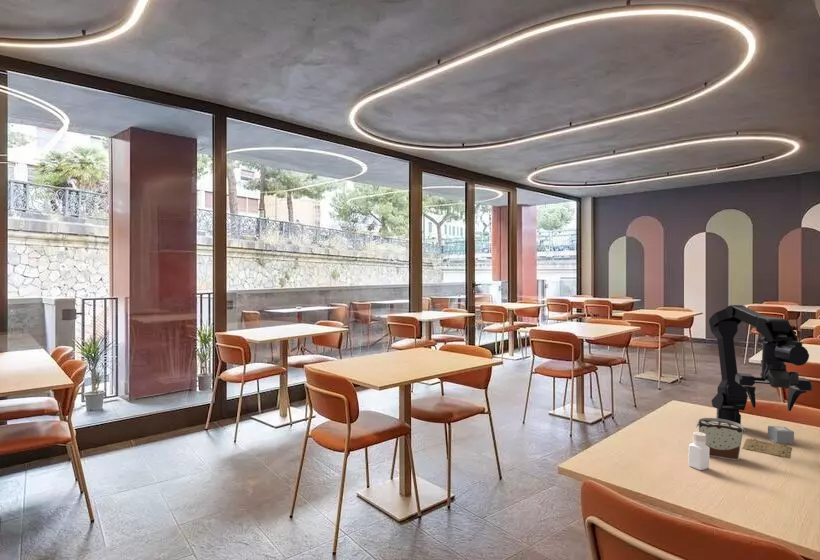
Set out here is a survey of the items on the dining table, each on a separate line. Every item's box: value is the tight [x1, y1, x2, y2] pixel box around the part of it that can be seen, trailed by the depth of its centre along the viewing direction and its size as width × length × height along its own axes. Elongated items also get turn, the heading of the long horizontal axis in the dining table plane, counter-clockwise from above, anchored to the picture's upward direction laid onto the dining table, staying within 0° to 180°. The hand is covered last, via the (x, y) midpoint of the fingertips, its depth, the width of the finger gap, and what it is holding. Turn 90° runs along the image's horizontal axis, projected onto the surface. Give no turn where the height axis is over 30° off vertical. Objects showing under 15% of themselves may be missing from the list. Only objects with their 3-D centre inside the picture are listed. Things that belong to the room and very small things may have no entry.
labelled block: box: [767, 425, 795, 445], centre depth 162 cm, size 5×5×4 cm
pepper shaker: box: [687, 431, 710, 471], centre depth 139 cm, size 4×4×10 cm
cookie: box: [741, 438, 793, 460], centre depth 155 cm, size 12×12×1 cm
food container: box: [695, 417, 746, 461], centre depth 150 cm, size 12×6×10 cm, turn 65°
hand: (771, 409), depth 155 cm, fingers open, 9 cm apart
